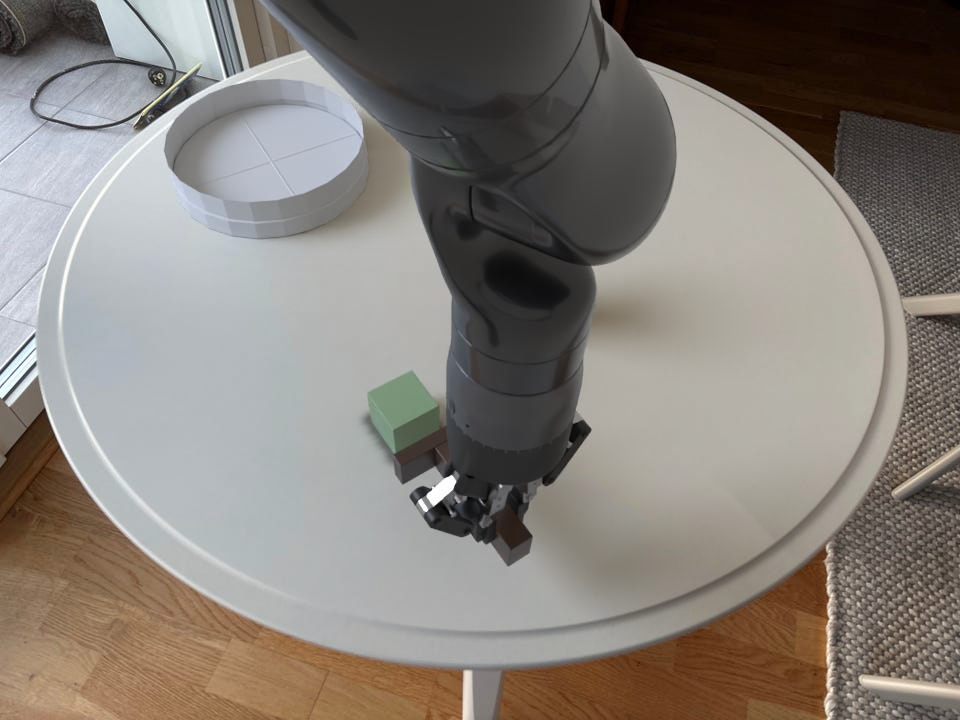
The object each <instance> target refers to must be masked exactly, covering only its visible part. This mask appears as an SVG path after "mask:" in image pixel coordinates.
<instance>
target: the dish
mask: <svg viewBox="0 0 960 720" xmlns="http://www.w3.org/2000/svg"><path fill="white" fill-rule="evenodd" d="M163 153H164V156H165V159H166V160H165V161H166V163H167V167H168V169H169V175H170V178H171V181H172V186H173V188H174V191H175V193H176V197H177V200H178V202H179V204H180V205H181V207H182V208H183V209H184V210H185V211H186V212H187V214H188V215H189V216H190V217H191V218H192V219H194V220H195V221H197V222H198V223H200V224H201V225H203V226H205V227H206V228H208V229H210V230H212V231H215V232H219V233H221V234H225V235H228V236H231V237H239V238H248V239H270V238H271V239H272V238H285V237H290V236H293V235H297V234H301V233H305V232H309V231H312V230H314V229H316V228H319V227H320V226H322V225H325V224H326V223H329V222H331V221H333V220H335V219H336V218H338V217H339V216H340V215H342V214H343V213H344V212H346V210H348V209H349V208H350V207H352V206H353V205H354V203H355V202H356V200H358V198H359V197H360V195H361V194H362V193H363V191H364V190H365V187H366V184H367V181H368V178H369V175H370V169H369V168H370V167H369V156H368V155H369V154H368V148H367V141H366V139H365V137H364V127H363V120H362V118H361V116H360V115H359V113H358V111H357V109H356V108H355V106H353V105H352V103H350V102H349V101H348V99H346V98H345V97H344V96H342V95H341V94H339V93H337V92H335V91H333V90H331V89H329V88H327V87H325V86H322V85H319V84H314V83H311V82H307V81H304V80H297V79H296V80H295V79H285V78H271V79H255V80H250V81H244V82H239V83H235V84H231V85H228V86H225V87H222V88H220V89H218V90H215V91H212V92H210V93H208V94H206V95H204V96H203V97H201V98H200V99H198V100H196V101H194V102H193V103H191V104H189V105H188V106H187V107H186V108H185V109H184V110H183V111H182V112H181V113H180V114H179V115H178V116H177V117H175V119H174V120H173V122H172V123H171V126H170V127H169V129H168V131H167V132H166V133H165V141H164V148H163Z"/></svg>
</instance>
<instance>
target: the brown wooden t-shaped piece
mask: <svg viewBox="0 0 960 720" xmlns="http://www.w3.org/2000/svg"><path fill="white" fill-rule="evenodd" d="M449 458H450V451H449V447H448V442H447V434H446V425H445V426H442V427H440V429H439V430H437V431H435V432H433V433H432V434H430V435H428V436H426V437H424V438H423V439H421V440H419V441H417V442H415V443H413V444H412V445H410V446H408V447H406V448H404V449H402V450H401V451H399V452H397V453H395V454H394V453H393V454H392V459H393V460H392V461H393V468H394V470H393V471H394V475H395V476H396V478H397V480H398V481H399V482H400V484H401V485H405V484H407V483H409V482H410V481H413V480H414V479H416V478H417V477H419V476H421V475H423V474H424V473H426V472H428V471H430V470H431V469H433V468H435V469H436V470H437V471H438V473H439V474H440V475H441V477H442V478H443V480H444V479H445V477H444V473H443V472H444V467H445V465H446V463H447V462H448V460H449ZM455 496H456V498H457V499H458V500H459V503H460V502H463V501H462V499H463V496H462V495H458V494H456V495H455ZM496 520H497V523H496V530H495V535H494V540H493V541H492V542H490V543H489V544H491V546H492V547H493V548H494V550H495V551H496V553H497V554H498V555H499V556H500V558H501V559H502V561H503V563H504V564H505V565H506V567H511V566H512V565H514V564H515V563H517V562H518V561H520V560H521V559H523V558H524V557H526V556H528V555H529V554H530V552H531V548H532V542H533V539H534V535H533V534H532V533H531V532H530V529H528V527H527V526H526V525H525V523H524V521H523V522H522V521H521V520H520V518H519V517H518V516H517V515H516V514H515V513H514V511H513V510H512V509H511V507H510V506H509V505H508V503H507V502H506V503H505V507H504V509H502V510H501V511H499V512H497V516H496Z"/></svg>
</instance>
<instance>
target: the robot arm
mask: <svg viewBox="0 0 960 720" xmlns="http://www.w3.org/2000/svg"><path fill="white" fill-rule="evenodd" d="M257 1H258V2H259V3H260V5H262V6H263V7H264V8H265V9H266V11H268V13H269V14H270V15H271V16H272V17H273V18H274V19H275V20H276V21H277V22H278V23H279V24H280V26H282V27H283V28H284V29H285V31H286V32H287V33H288V34H289V35H290V36H291V37H292V39H294V40H295V41H296V42H297V43H298V44H299V45H300V46H301V47H302V48H303V49H304V50H305V51H306V52H307V53H308V54H309V55H310V56H311V58H312V59H313V60H314V61H315V62H316V63H317V64H318V65H319V66H320V67H321V68H322V69H323V70H324V71H325V72H326V73H327V74H328V75H329V76H330V77H331V78H332V79H333V80H334V81H335V82H336V83H337V84H338V85H339V86H340V87H341V88H342V89H343V90H344V92H345V93H346V94H348V95H349V96H350V97H351V98H352V99H353V100H354V101H355V103H357V105H359V107H360V108H362V109H363V110H364V112H366V113H367V114H368V115H369V116H370V117H371V118H372V119H373V120H374V121H376V123H378V124H379V126H381V127H382V128H383V129H384V130H385V131H386V132H387V133H388V134H389V135H390V136H391V137H392V138H393V139H394V140H395V141H396V142H397V143H398V144H399V145H400V146H402V147H403V148H404V149H405V150H406V151H407V162H408V163H407V164H408V172H409V178H410V185H411V189H412V193H413V198H414V201H415V204H416V209H417V210H418V215H419V217H420V220H421V223H422V225H423V228H424V231H425V232H426V236H427V238H428V241H429V243H430V246H431V249H432V251H433V254H434V256H435V259H436V262H437V264H438V267H439V270H440V273H441V277H442V279H443V280H444V283H445V285H446V287H447V289H448V291H449V293H450V296H451V304H450V305H451V307H450V309H451V310H450V312H451V313H450V314H451V316H450V345H449V349H448V353H447V358H446V366H445V367H446V369H445V373H446V374H445V376H446V377H445V386H446V387H445V400H446V401H445V409H446V410H445V426H446V434H447V442H448V447H449V451H450V458H449V460H448V462H447V463H446V465H445V467H444V472H443V473H444V477H445V479H444V478H443V480H441V481H440V483H438V484H433V485H432V486H431V487H428V486H426V485H421V486H418V487H416V488H415V489H413V490H412V492H411V493H410V494H409V496H408V497H409V499H410V501H411V502H412V504H413V505H414V507H415V508H416V509H417V511H418V513H419V514H420V515H421V517H422V518H423V519H424V521H425V522H426V524H427V526H428V528H430V529H433V530H435V531H439V532H442V533H445V534H448V535H451V536H455V537H458V538H465V537H467V536H469V535H471V537H472V538H473V539H474V540H475V542H477V544H479V543H480V542H483V544H484V545H486V546H487V545H488V544H491V543H490V542H492V541H493V540H494V535H495V530H496V523H497V520H496V516H497V512H499V511H501V510H502V509H504V507H505V503H506V502H507V503H508V505H509V506H510V507H511V509H512V510H513V511H514V513H515V514H516V515H517V516H518V517H519V518H520V520H521V521H522V522H523V523H524V518H525V514H527V512H528V510H529V506H530V502H531V501H533V499H534V498H535V497H536V495H537V494H538V488H540V487H541V486H542V485H543V487H548V486H552V485H553V484H554V483H555V481H556V480H557V479H558V477H559V476H560V475H561V474H562V472H564V469H565V468H566V466H568V464H569V462H571V460H572V459H573V457H574V456H575V454H576V453H577V452H578V450H579V449H580V448H581V446H583V443H584V442H585V441H586V439H588V437H589V436H590V434H591V432H592V431H593V429H592V427H591V426H590V425H589V424H588V422H587V421H586V420H585V418H584V417H582V415H581V414H580V413H579V412H578V411H577V407H578V403H579V398H580V394H581V391H582V384H583V379H584V357H585V353H586V348H587V344H588V340H589V335H590V331H591V328H592V322H593V317H594V314H595V313H594V312H595V309H596V304H597V294H598V293H597V292H598V286H597V279H596V274H595V271H594V268H593V267H597V266H598V267H599V266H603V265H608V264H611V263H614V262H616V261H619V260H620V259H622V258H624V257H626V256H628V255H629V254H630V253H632V252H633V251H634V250H636V249H637V248H638V247H639V246H641V245H642V243H644V241H646V239H647V238H648V237H649V236H650V235H651V233H652V232H653V231H654V229H655V228H656V226H657V225H658V223H659V222H660V220H661V218H662V217H663V214H664V212H665V210H666V208H667V206H668V202H669V200H670V197H671V194H672V191H673V187H674V183H675V176H676V171H677V170H676V169H677V158H678V153H677V152H678V150H677V135H676V129H675V123H674V120H673V116H672V114H671V110H670V107H669V105H668V102H667V100H666V98H665V95H664V94H663V92H662V90H661V88H660V87H659V86H658V84H657V82H656V81H655V79H654V78H653V76H652V75H651V74H650V73H649V71H648V70H647V69H646V68H645V66H644V65H643V63H642V62H641V61H640V59H639V58H638V57H637V56H636V55H635V53H634V52H633V51H632V50H631V48H630V47H629V46H628V44H627V43H626V41H624V39H623V38H622V36H621V35H620V34H619V33H618V32H617V31H616V29H614V28H613V26H611V25H610V24H609V23H608V22H607V21H606V20H605V19H604V18H603V15H602V9H601V4H600V0H257ZM456 494H458V495H462V496H463V499H462V501H463V502H460V501H459V502H458V501H457V499H456V498H455V496H456Z"/></svg>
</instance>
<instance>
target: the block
mask: <svg viewBox="0 0 960 720" xmlns="http://www.w3.org/2000/svg"><path fill="white" fill-rule="evenodd" d="M366 396H367V402H368V408H369V415H370V416H369V417H370V421H371V423H372V424H373V427H375V429H376V431H378V433H379V435H380V436H381V437H382V439H383V440H384V442H385V444H386V445H387V446H388V447H389V449H390V451H391V452H392V453H393V454H395V453H397V452H399V451H401V450H402V449H404V448H406V447H408V446H410V445H412V444H413V443H415V442H417V441H419V440H421V439H423V438H424V437H426V436H428V435H430V434H432V433H433V432H435V431H437V430H439V429H441V427H440V405H439V404H438V402H437V401H436V400H435V398H434V397H433V396H432V395H431V393H430V392H429V391H428V389H427V388H426V387H425V385H424V384H423V383H422V381H421V380H420V379H419V377H418V376H417V374H415V372H414V371H413V370H412V369H411V370H409V371H407V372H405V373H403V374H401V375H399V376H397V377H394V379H391V380H389V381H387V382H385V383H384V384H381V385H379V386H378V387H376V388H374V389H371V390H370V391H367V392H366Z"/></svg>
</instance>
